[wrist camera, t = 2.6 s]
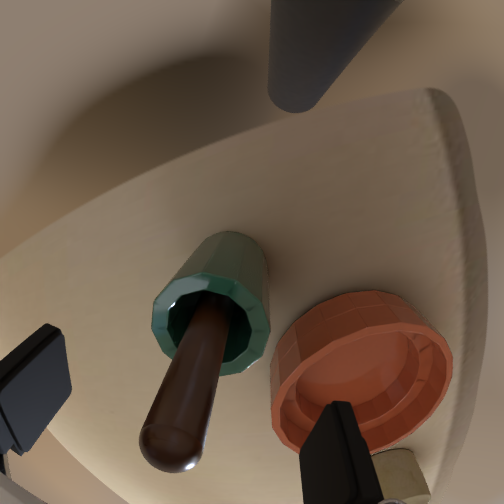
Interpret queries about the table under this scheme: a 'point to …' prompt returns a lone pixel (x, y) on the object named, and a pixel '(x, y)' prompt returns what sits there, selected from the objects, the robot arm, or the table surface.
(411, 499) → the sugar bowl
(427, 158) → the table surface
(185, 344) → the stirring stick
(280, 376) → the mixing bowl
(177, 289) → the stick holder
